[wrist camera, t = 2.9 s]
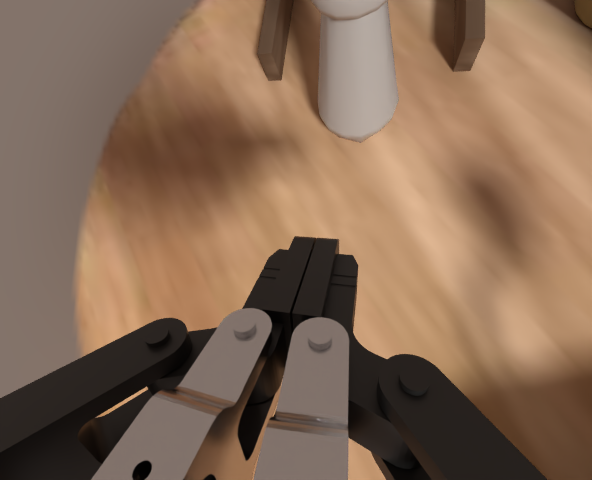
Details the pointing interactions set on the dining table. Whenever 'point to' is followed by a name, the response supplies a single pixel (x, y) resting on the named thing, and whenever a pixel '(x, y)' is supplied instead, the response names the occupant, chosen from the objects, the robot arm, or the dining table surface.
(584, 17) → the squeeze bottle
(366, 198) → the dining table surface
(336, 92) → the salt shaker
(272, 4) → the walnut bay
